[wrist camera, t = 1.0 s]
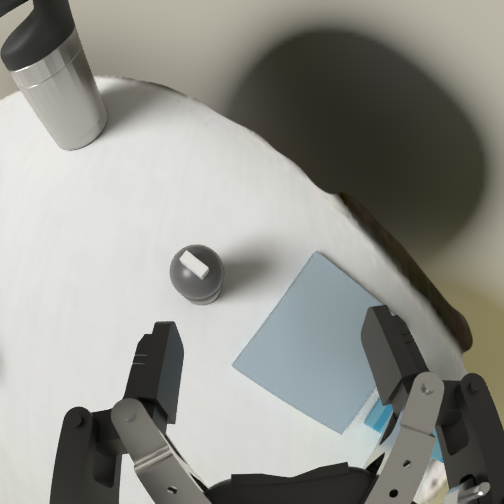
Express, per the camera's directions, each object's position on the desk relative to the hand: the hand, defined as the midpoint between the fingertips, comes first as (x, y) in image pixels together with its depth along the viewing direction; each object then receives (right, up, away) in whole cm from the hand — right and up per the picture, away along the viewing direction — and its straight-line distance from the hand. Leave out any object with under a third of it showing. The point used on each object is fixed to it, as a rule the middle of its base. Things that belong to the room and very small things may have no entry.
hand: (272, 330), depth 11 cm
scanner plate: (+8, -8, +20) cm, 23 cm away
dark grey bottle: (-6, -1, +20) cm, 21 cm away
